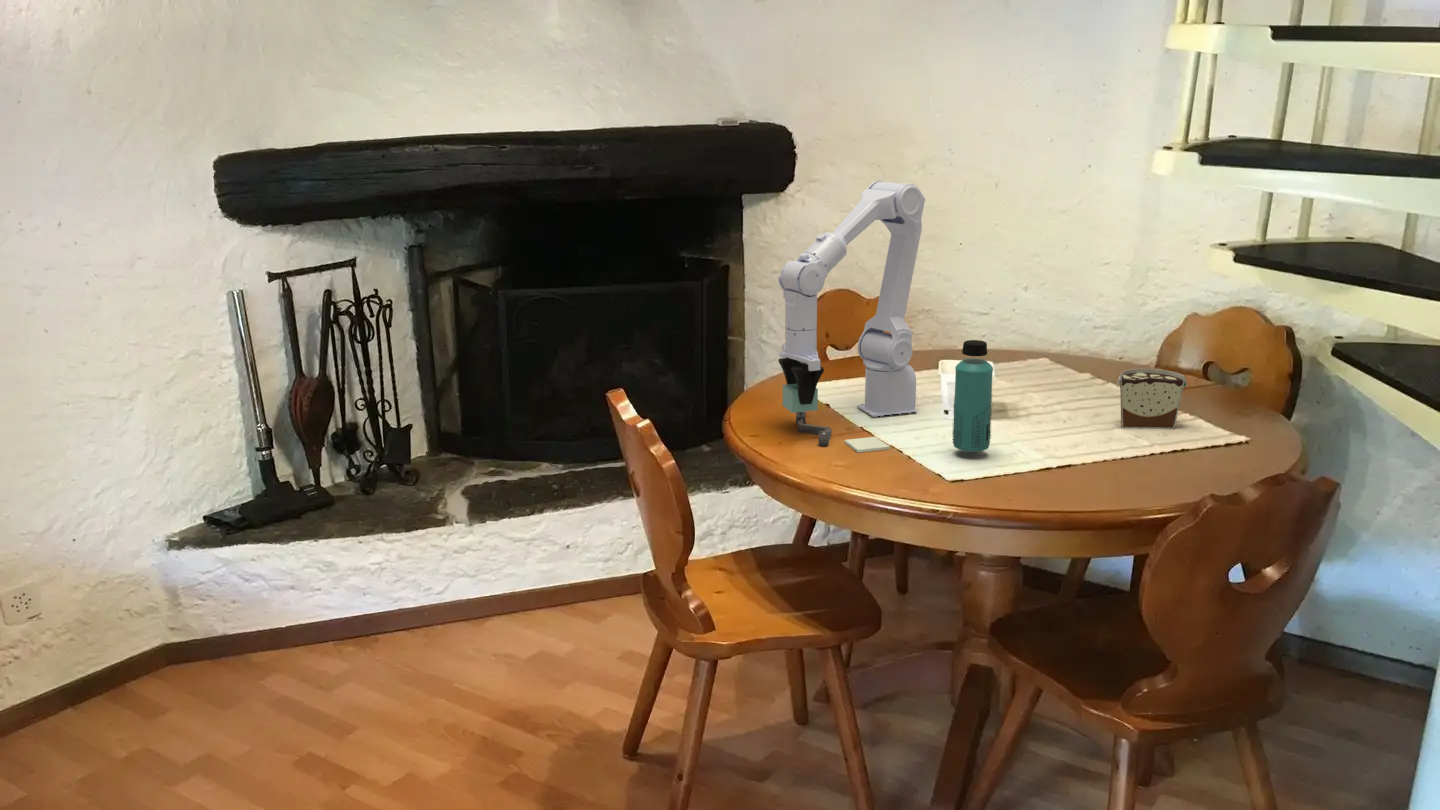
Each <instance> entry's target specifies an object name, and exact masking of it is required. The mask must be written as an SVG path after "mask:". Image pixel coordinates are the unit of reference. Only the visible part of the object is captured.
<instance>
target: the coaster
mask: <svg viewBox="0 0 1440 810" xmlns="http://www.w3.org/2000/svg"><path fill="white" fill-rule="evenodd" d="M843 441H844V444H846V445H847V446H848V447H849V448H851V449H852V450H854V451H855V452H857V453H858V454H861V453H869V452H876V451H884V450H890V445H888V444H887V443H885V442H884V441H882V440H880V438H879V437H876V436H869V437H861V438H853V439H852V438H851V439H850V438H849V439H845V440H844V439H843Z"/></svg>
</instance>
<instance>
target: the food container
mask: <svg viewBox="0 0 1440 810" xmlns="http://www.w3.org/2000/svg"><path fill="white" fill-rule="evenodd" d="M1187 382H1188V381H1187V378H1186V376H1185V375H1184V374H1181V373H1179V372H1175V371H1172V370H1171V371H1170V370H1165V369H1157V368H1131V369H1125V370H1123V371H1121V372H1120V375H1119V376H1118V379H1117V382H1116V387H1117V388H1118V387H1120V388H1119V391H1120V394H1119V395H1120V427H1121V429H1133V428H1135V429H1136V428H1137V429H1138V430H1139V429H1143V430H1144V429H1145V428H1146V430H1147V428H1148V430H1151V429H1152V430H1156V429H1157V428H1158V429H1157V430H1175V429H1176V422H1177V419H1178V414H1179V409H1180V405H1181V400H1182V395H1183V390H1184V388H1188V383H1187ZM1119 385H1120V386H1119Z"/></svg>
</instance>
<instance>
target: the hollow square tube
mask: <svg viewBox="0 0 1440 810" xmlns="http://www.w3.org/2000/svg"><path fill="white" fill-rule="evenodd" d="M818 391H819V389H818V388H817V387H816V389H815V393H814V397H813V401H812V404H804V405H801V404H800V401H799V396H798V387H797V384H788V385H787V384H782V407H784V408H785V409H786V410H787V411H789V412H790V413H791V414H793V413H794V414H796V412H805V411H806V412H814V411H818V409H819V406H818V405H819V402H818V401H819V400H818V399H819V392H818Z"/></svg>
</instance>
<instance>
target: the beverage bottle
mask: <svg viewBox="0 0 1440 810" xmlns="http://www.w3.org/2000/svg"><path fill="white" fill-rule="evenodd" d="M962 343H963V345H962V349H961V353H962V355H965V356H969V357H982V356H983V357H985V356H986V355H988V343H987V342H986V341H984V340H980V339H979V340H978V339H968V340H964V341H963V342H962ZM954 370H955V377H954V378H955V379H954V396H953V401H954V402H953V404H952V405H953V411H952V412H953V413H952V414H953V423H952V431H951V432H952V434H951V436H952V438H951V439H952V440H951V441H952V445H953V447H954V448H955V449H957V450H960V451H964V452H983V451H986V450H988V449H989V447H990V445H991V439H992V435H991V425H992V422H991V421H992V419H993V418H992V412H993V406H992V403H993V399H992V398H993V395H994V394H993V371H994V367H993V366H992V364H991V363H989V362H988V361H987V360H986V359H984V358H983V359H982V358H964V359H962V360H961V361H959V363H957V364H956V365H955V369H954Z"/></svg>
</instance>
